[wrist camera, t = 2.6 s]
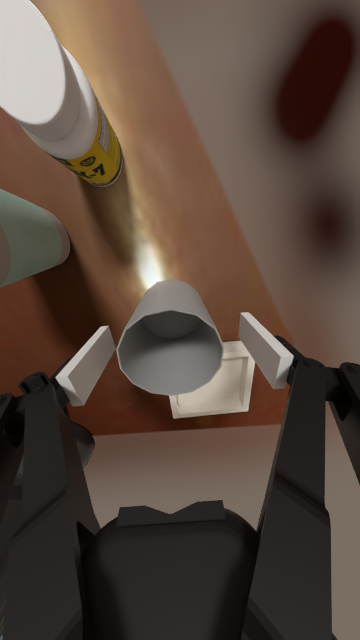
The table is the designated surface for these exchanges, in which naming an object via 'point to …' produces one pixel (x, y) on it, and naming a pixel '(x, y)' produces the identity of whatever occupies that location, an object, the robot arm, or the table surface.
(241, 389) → the tray
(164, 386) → the cup
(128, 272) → the table surface
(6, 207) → the coffee cup
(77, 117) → the supplement bottle
